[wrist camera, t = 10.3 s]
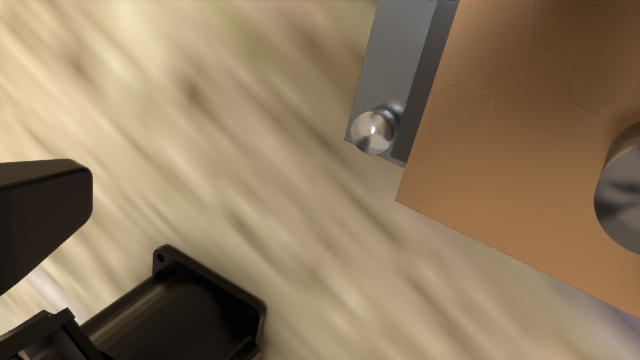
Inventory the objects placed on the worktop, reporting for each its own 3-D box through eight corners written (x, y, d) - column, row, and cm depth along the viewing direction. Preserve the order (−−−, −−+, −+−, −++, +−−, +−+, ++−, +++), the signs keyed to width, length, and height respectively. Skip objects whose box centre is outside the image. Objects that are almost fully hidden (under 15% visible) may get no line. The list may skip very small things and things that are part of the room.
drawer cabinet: (401, 100, 19) (326, 152, 15) (497, -226, 14) (424, -271, 10) (768, 252, 15) (793, 373, 12) (1066, -119, 11) (1280, -127, 7)
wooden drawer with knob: (510, 82, 16) (363, 232, 9) (582, -96, 14) (458, -85, 7) (685, 148, 15) (676, 393, 7) (801, -40, 12) (953, 56, 5)
